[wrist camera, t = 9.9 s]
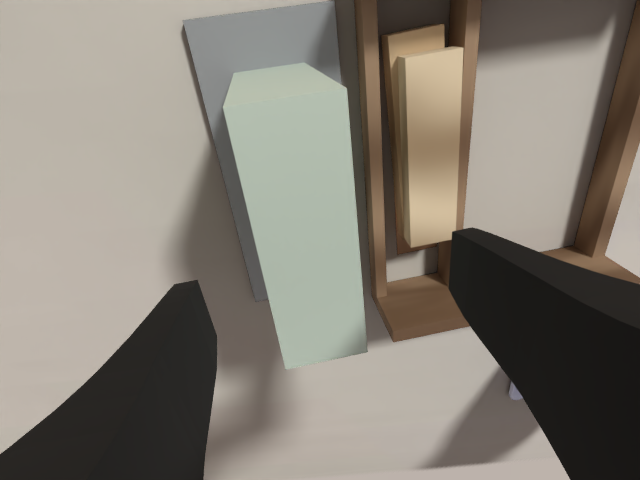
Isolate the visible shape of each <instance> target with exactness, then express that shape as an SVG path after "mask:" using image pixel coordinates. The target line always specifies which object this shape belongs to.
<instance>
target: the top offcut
mask: <svg viewBox="0 0 640 480" xmlns="http://www.w3.org/2000/svg"><path fill="white" fill-rule="evenodd" d="M462 71H463V48H462V47H454V46H452V47H446V48H440V49H435V50H429V51H424V52H418V53H412V54H407V55H401V56H398V82H399V108H400V134H401V160H402V186H403V212H404V238H405V240H406V241H407V243H408V244H409V246H410V247H411V248H412V247H417V246H422V245H427V244H432V243H437V242H442V241H447V240H452V231H456V215H457V191H458V167H459V143H460V119H461V95H462Z"/></svg>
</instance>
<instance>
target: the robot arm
mask: <svg viewBox="0 0 640 480" xmlns="http://www.w3.org/2000/svg"><path fill="white" fill-rule="evenodd" d="M448 289H449V291H450V293H451V295H452V297H453V298H454V300H455V302H456V304H457V306H458V308H459V309H460V311H461V313H462V315H463V316H464V318H465V319H466V321H467V322H468V324H469V325H470V326H471V328H472V329H473V330H474V332H475V333H476V334H477V336H478V337H479V339H480V340H481V341H482V343H483V344H484V345H485V346H486V348H487V349H488V350H489V352H490V353H491V354H492V356H493V357H494V358H495V360H496V361H497V362H498V364H499V365H500V366H501V368H502V369H503V370H504V372H505V373H506V374H507V376H508V377H509V378H510V380H511V385H510V390H509V396H510V398H511V399H512V400H519V399H524V400H525V402H526V404H527V405H528V407H529V409H530V410H531V412H532V414H533V415H534V417H535V419H536V420H537V422H538V423H539V425H540V427H541V428H542V430H543V432H544V434H545V435H546V437H547V439H548V441H549V442H550V444H551V446H552V448H553V449H554V451H555V453H556V455H557V456H558V458H559V460H560V462H561V463H562V465H563V467H564V468H565V471H566V472H567V474H568V476H569V478H570V480H640V284H637V283H633V282H630V281H626V280H622V279H619V278H615V277H611V276H608V275H604V274H601V273H598V272H594V271H591V270H588V269H585V268H582V267H579V266H576V265H573V264H570V263H567V262H564V261H562V260H559V259H556V258H553V257H551V256H548V255H545V254H543V253H540V252H537V251H535V250H532V249H530V248H527V247H524V246H522V245H519V244H517V243H514V242H512V241H509V240H507V239H504V238H501V237H499V236H496V235H494V234H491V233H488V232H485V231H482V230H479V229H476V228H467V229H462V230H457V231H452V241H451V257H450V272H449V288H448ZM216 371H217V335H216V332H215V329H214V326H213V323H212V321H211V318H210V315H209V312H208V309H207V306H206V303H205V300H204V298H203V295H202V292H201V289H200V286H199V283H198V280H195V281H189V282H184V283H179V284H174V286H173V287H172V288H171V289H170V290H169V291H168V292H167V293H166V295H165V296H164V297H163V298H162V299H161V301H160V302H159V303H158V304H157V305H156V307H155V308H154V309H153V310H152V311H151V313H150V314H149V315H148V316H147V317H146V318H145V320H144V321H143V322H142V323H141V324H140V325H139V327H138V328H137V329H136V330H135V331H134V332H133V334H132V335H131V336H130V337H129V338H128V339H127V340H126V341H125V342H124V343H123V345H122V346H121V347H120V348H119V349H118V350H117V351H116V352H115V353H114V354H113V355H112V356H111V357H110V358H109V359H108V361H107V362H106V363H105V364H104V365H103V366H102V367H101V368H100V369H99V370H98V371H97V372H96V373H95V374H94V375H93V376H92V377H91V378H90V379H89V380H88V381H87V382H86V383H85V384H84V385H83V386H81V387H80V388H79V389H78V390H77V391H76V392H75V393H74V394H73V395H71V396H70V397H69V398H68V399H67V400H66V401H65V402H64V403H63V404H62V405H60V406H59V407H58V408H57V409H56V410H55V411H53V412H52V413H51V414H50V415H49V416H47V417H46V418H45V419H44V420H42V421H41V422H40V423H39V424H37V425H36V426H35V427H34V428H33V429H31V430H30V431H29V432H28V433H26V434H25V435H24V436H23V437H21V438H20V439H19V440H18V441H17V442H15V443H14V444H13V445H12V446H10V447H9V448H8V449H7V450H5V451H4V452H3V453H1V454H0V480H203V476H204V462H205V452H206V444H207V437H208V430H209V423H210V416H211V408H212V401H213V394H214V387H215V379H216Z"/></svg>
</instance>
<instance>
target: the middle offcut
mask: <svg viewBox="0 0 640 480" xmlns="http://www.w3.org/2000/svg"><path fill="white" fill-rule="evenodd" d="M381 42H382V53H383V65H384V76H385V88H386V99H387V111H388V122H389V134H390V145H391V157H392V168H393V180H394V191H395V202H396V214H397V225H398V233H399V235H400V236H401V238H402V239H403V240H404V241H406V240H405V238H404V212H403V186H402V160H401V134H400V108H399V82H398V56H401V55H407V54H412V53H418V52H424V51H429V50H435V49H440V48H445V47H444V24H432V25H427V26H422V27H418V28H413V29H409V30H404V31H399V32H395V33H390V34H386V35H381Z"/></svg>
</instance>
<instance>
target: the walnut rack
mask: <svg viewBox="0 0 640 480" xmlns="http://www.w3.org/2000/svg"><path fill="white" fill-rule="evenodd" d="M354 7H355V24H356V40H357V57H358V74H359V90H360V107H361V123H362V140H363V157H364V173H365V190H366V207H367V223H368V240H369V256H370V273H371V290H372V297H373V300H374V302H375V304H376V306H377V308H378V310H379V313H380V315H381V317H382V319H383V321H384V323H385V326H386V328H387V330H388V332H389V334H390V336H391V338H392V341H393V342H397V341H402V340H407V339H411V338H416V337H421V336H426V335H430V334H435V333H440V332H444V331H449V330H454V329H459V328H463V327H468V326H470V325H469V324H468V322H467V321H466V319H465V318H464V316H463V315H462V313H461V311H460V309H459V308H458V306H457V304H456V302H455V300H454V298H453V297H452V295H451V293H450V291H449V289H448V288H449V272H450V257H451V241H452V240H447V241H442V242H439V249H438V270H437V273H433V274H428V275H423V276H418V277H413V278H408V279H403V280H398V281H393V282H388V283H387V279H386V251H385V222H384V193H383V164H382V135H381V106H380V77H379V48H378V19H377V0H354ZM481 7H482V0H450V20H449V41H448V47H452V46H454V47H462V48H463V71H462V95H461V119H460V143H459V167H458V191H457V215H456V231H457V230H462V229H463V222H464V210H465V198H466V186H467V174H468V162H469V150H470V138H471V127H472V115H473V103H474V91H475V79H476V67H477V55H478V43H479V31H480V19H481ZM639 143H640V0H637V3H636V7H635V11H634V14H633V18H632V22H631V26H630V30H629V34H628V38H627V42H626V45H625V49H624V53H623V57H622V61H621V65H620V69H619V73H618V77H617V80H616V84H615V88H614V92H613V96H612V100H611V104H610V108H609V111H608V115H607V119H606V123H605V127H604V131H603V135H602V139H601V142H600V146H599V150H598V154H597V158H596V162H595V166H594V170H593V173H592V177H591V181H590V185H589V189H588V193H587V197H586V201H585V205H584V208H583V212H582V216H581V220H580V224H579V228H578V232H577V236H576V239H575V243H574V246H569V247H564V248H559V249H554V250H549V251H544V252H540V253H543V254H545V255H548V256H551V257H553V258H556V259H559V260H562V261H564V262H567V263H570V264H573V265H576V266H579V267H582V268H585V269H588V270H591V271H594V272H598V273H601V274H604V275H608V276H611V277H615V278H619V279H622V280H626V281H630V282H633V283H637V284H640V278H639V277H638V276H636V275H634V274H633V273H631V272H630V271H628V270H627V269H625V268H623V267H622V266H620V265H619V264H617V263H616V262H614V261H612V260H611V259H609V258H608V257H606V256H605V252H606V249H607V246H608V243H609V239H610V236H611V233H612V230H613V227H614V223H615V220H616V217H617V214H618V210H619V207H620V204H621V201H622V198H623V194H624V191H625V188H626V185H627V181H628V178H629V175H630V172H631V169H632V165H633V162H634V159H635V156H636V152H637V149H638V146H639Z"/></svg>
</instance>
